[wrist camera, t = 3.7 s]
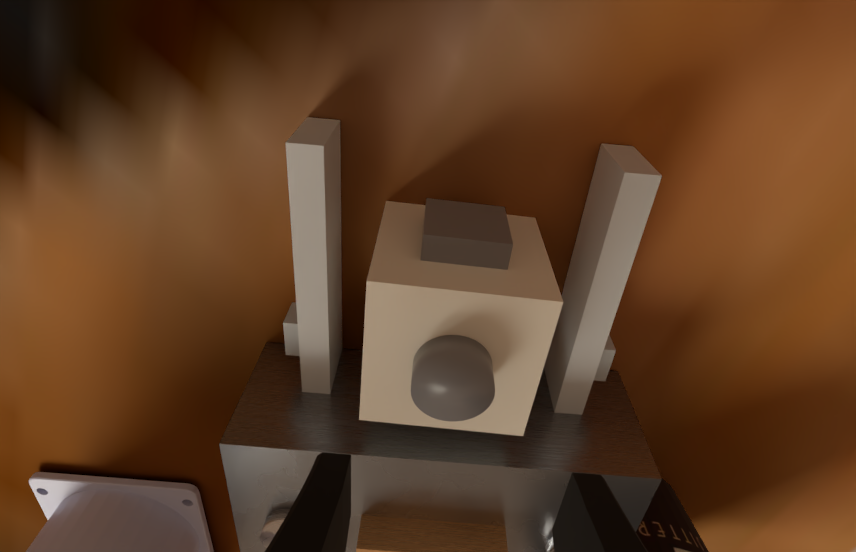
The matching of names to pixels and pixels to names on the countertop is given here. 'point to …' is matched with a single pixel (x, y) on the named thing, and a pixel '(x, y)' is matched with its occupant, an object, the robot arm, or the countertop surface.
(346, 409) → the block
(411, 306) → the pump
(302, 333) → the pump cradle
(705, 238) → the countertop surface
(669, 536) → the coffee mug
